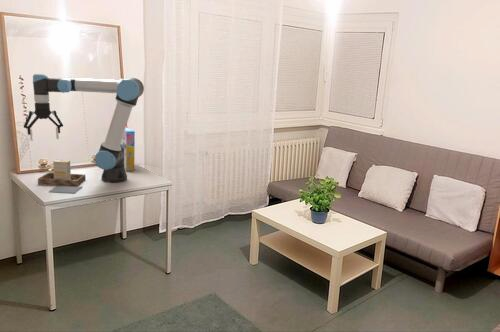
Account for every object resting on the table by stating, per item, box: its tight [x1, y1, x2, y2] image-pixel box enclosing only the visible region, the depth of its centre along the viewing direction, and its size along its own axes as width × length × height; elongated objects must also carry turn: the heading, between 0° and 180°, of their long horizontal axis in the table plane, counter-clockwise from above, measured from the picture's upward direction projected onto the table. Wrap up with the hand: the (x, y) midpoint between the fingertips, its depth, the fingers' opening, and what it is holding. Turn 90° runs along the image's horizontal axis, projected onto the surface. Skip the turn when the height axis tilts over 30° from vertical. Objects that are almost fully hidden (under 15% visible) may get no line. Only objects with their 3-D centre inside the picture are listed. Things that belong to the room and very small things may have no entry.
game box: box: [121, 126, 136, 172], centre depth 290 cm, size 21×6×27 cm, turn 30°
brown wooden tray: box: [37, 172, 87, 187], centre depth 250 cm, size 22×14×4 cm, turn 93°
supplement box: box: [52, 159, 72, 180], centre depth 249 cm, size 8×5×13 cm, turn 84°
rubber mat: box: [48, 185, 83, 195], centre depth 237 cm, size 14×12×1 cm
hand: (44, 139), depth 243 cm, fingers open, 13 cm apart
